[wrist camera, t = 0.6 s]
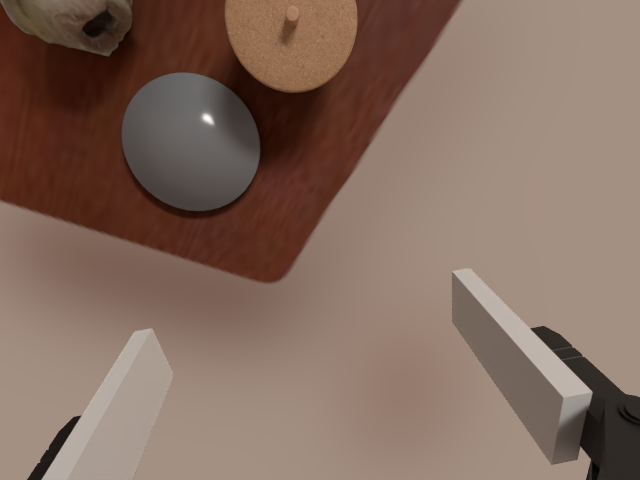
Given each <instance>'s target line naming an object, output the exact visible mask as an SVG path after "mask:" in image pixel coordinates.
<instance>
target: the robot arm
mask: <svg viewBox="0 0 640 480" xmlns="http://www.w3.org/2000/svg"><path fill="white" fill-rule="evenodd" d="M452 318H453V319H452V322H453V324H454V325H455V326H456V328H457V329H458V331H459V332H460V334H461V335H462V337H463V338H464V339H465V341H466V342H467V344H468V345H469V346H470V348H471V349H472V351H473V352H474V354H475V355H476V357H477V358H478V360H479V361H480V362H481V364H482V365H483V367H484V368H485V370H486V371H487V373H488V374H489V375H490V377H491V378H492V380H493V381H494V383H495V384H496V386H497V387H498V388H499V390H500V391H501V392H502V394H503V395H504V397H505V398H506V400H507V401H508V403H509V404H510V406H511V407H512V408H513V410H514V411H515V413H516V414H517V416H518V417H519V419H520V420H521V422H522V423H523V424H524V426H525V427H526V429H527V430H528V432H529V433H530V434H531V436H532V437H533V439H534V440H535V442H536V443H537V445H538V446H539V447H540V449H541V450H542V452H543V453H544V454H545V456H546V457H547V459H548V460H549V462H550V463H551V464H558V463H563V462H568V461H573V460H577V459H578V454H579V450H580V446H581V447H582V449H583V450H584V451H585V452H586V453H587V455H588V456H589V457H590V458H591V462H590V466H589V470H588V474H587V478H586V480H640V397H637V396H633V395H627V394H625V393H623V392H622V391H621V390H620V389H619V388H618V387H617V386H616V385H614V384H613V383H612V382H611V381H610V380H609V379H608V378H607V377H606V376H605V375H604V374H603V373H601V372H600V371H599V370H598V369H597V368H596V367H595V366H594V365H593V364H592V363H590V362H589V361H588V360H587V359H586V358H585V357H582V354H581V353H580V352H578V351H577V350H576V349H575V348H573V347H572V345H571V344H570V343H569V342H568V341H566V340H565V339H564V338H563V337H562V336H561V335H560V334H558V333H556V332H554V331H552V330H550V329H549V328H547V327H545V326H541V327H536V328H529V327H528V326H527V325H526V324H525V323H524V322H523V321H522V320H521V319H520V318H519V317H518V316H517V315H516V314H515V313H514V312H513V311H512V310H511V309H510V308H509V307H508V306H507V305H505V303H504V302H503V301H502V300H501V299H500V298H499V297H498V296H497V295H496V294H495V293H494V292H493V291H492V290H491V289H490V288H489V287H488V286H487V285H486V284H485V283H484V282H483V281H482V280H481V279H480V278H479V277H478V276H477V275H476V274H475V273H474V272H473V271H472V270H471V269H470V268H466V269H461V270H456V271H452ZM173 376H174V375H173V372H172V370H171V368H170V366H169V364H168V361H167V360H166V357H165V355H164V353H163V351H162V349H161V346H160V344H159V342H158V340H157V338H156V336H155V334H154V331H153V329H152V328H151V329H145V330H140V331H135V332H134V333H133V335H132V336H131V338H130V339H129V341H128V343H127V344H126V346H125V347H124V349H123V351H122V352H121V354H120V355H119V357H118V359H117V360H116V362H115V363H114V365H113V367H112V368H111V370H110V371H109V373H108V375H107V376H106V378H105V379H104V381H103V383H102V384H101V386H100V387H99V389H98V391H97V392H96V394H95V395H94V397H93V399H92V400H91V402H90V403H89V405H88V406H87V408H86V410H85V411H84V413H83V414H82V415H81V416H76V417H73V418H72V419H71V420H70V421H69V422H68V423H67V424H66V425H65V426H64V427H63V428H62V429H61V430H60V431H59V432H58V434H57V435H56V437H55V438H54V440H53V442H52V443H51V444H50V446H49V450H46V452H45V453H44V455H43V456H42V458H41V460H40V463H38V464H37V466H36V467H35V469H34V470H33V472H32V473H31V475H30V476H29V478H28V479H27V480H133V478H134V475H135V473H136V470H137V468H138V465H139V463H140V460H141V457H142V455H143V452H144V450H145V447H146V445H147V442H148V440H149V437H150V435H151V432H152V429H153V427H154V425H155V422H156V419H157V417H158V414H159V412H160V409H161V407H162V404H163V402H164V399H165V397H166V394H167V392H168V389H169V387H170V384H171V382H172V379H173Z"/></svg>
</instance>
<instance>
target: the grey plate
mask: <svg viewBox="0 0 640 480" xmlns="http://www.w3.org/2000/svg"><path fill="white" fill-rule="evenodd" d="M122 144H123V150H124V154H125V157H126V160H127V162H128V165H129V167H130V169H131V171H132V172H133V174H134V175H135V177H136V178H137V180H138V181H139V182H140V183H141V185H142V186H143V187H144V188H145V189H146V190H147V191H148V192H150V193H151V194H152V195H153V196H155V197H156V198H158V199H159V200H161V201H162V202H165V203H167V204H169V205H171V206H174V207H176V208H180V209H184V210H190V211H206V210H213V209H216V208H220V207H222V206H224V205H227V204H229V203H230V202H232V201H234V200H235V199H236V198H237V197H239V196H240V195H241V194H242V193H243V192H244V191H245V190H246V189H247V187H248V186H249V184H250V183H251V181H252V180H253V178H254V176H255V174H256V171H257V168H258V165H259V160H260V151H261V147H260V137H259V132H258V129H257V125H256V123H255V120H254V118H253V116H252V114H251V112H250V111H249V109H248V108H247V106H246V105H245V104H244V102H243V101H242V100H241V99H240V98H239V97H238V96H237V95H236V94H235V93H234V92H233V91H231V90H230V89H229V88H228V87H226V86H224V85H223V84H221V83H219V82H218V81H216V80H213V79H211V78H209V77H206V76H202V75H199V74H193V73H173V74H168V75H164V76H161V77H159V78H156V79H154V80H152V81H151V82H149V83H148V84H146V85H145V86H144V87H142V88H141V89H140V90H139V91H138V92H137V93H136V95H135V96H134V97H133V98H132V100H131V102H130V104H129V105H128V107H127V110H126V112H125V115H124V119H123V124H122Z"/></svg>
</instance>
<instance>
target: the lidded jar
mask: <svg viewBox="0 0 640 480" xmlns="http://www.w3.org/2000/svg"><path fill="white" fill-rule="evenodd" d="M225 24H226V31H227V34H228V38H229V41H230V44H231V46H232V48H233V51H234V53H235V55H236V56H237V58H238V59H239V61H240V63H241V64H242V65H243V66H244V68H245V69H246V70H247V71H248V72H249V73H250V74H251V75H252V76H253V77H254V78H255V79H256V80H258V81H259V82H261V83H263V84H264V85H266V86H268V87H270V88H272V89H275V90H278V91H282V92H288V93H299V92H306V91H309V90H313V89H315V88H318V87H320V86H322V85H323V84H325V83H326V82H328V81H329V80H331V79H332V78H333V77H334V76H335V75H336V74H337V73H338V72H339V70H340V69H341V68H342V67H343V65H344V64H345V62H346V61H347V59H348V57H349V55H350V53H351V50H352V48H353V45H354V41H355V37H356V32H357V7H356V2H355V0H225Z"/></svg>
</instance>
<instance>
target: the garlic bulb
mask: <svg viewBox="0 0 640 480" xmlns="http://www.w3.org/2000/svg"><path fill="white" fill-rule="evenodd" d="M0 2H1V4H2V6H3V8H4V10H5V11H6V13H7V15H8V16H9V18H10V19H11V21H12V22H13V23H14V24H15V25H16V26H18V27H19V28H20V29H21V30H22V31H23V32H25V33H27V34H31V35H36V36H38V37H39V38H41V39H42V40H44V41H45V42H47V43H50V44H51V43H54V44H60V45H64V46H66V47H68V48H76V49H79V50H84V51H88V52H92V53H97V54H101V55H104V56H110V54H111V53H112V51H114V50H115V49H116V48H117V47H118V43H119V42H120V41H122V40H123V37H124V35H125V33H126V32H127V31H129V30H130V28H131V26H132V12H131V8H132V3H133V1H132V0H0Z"/></svg>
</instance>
